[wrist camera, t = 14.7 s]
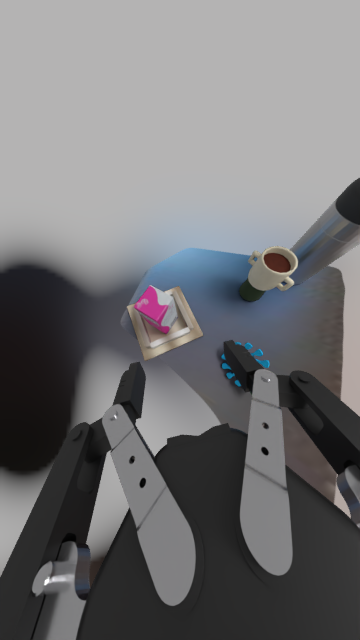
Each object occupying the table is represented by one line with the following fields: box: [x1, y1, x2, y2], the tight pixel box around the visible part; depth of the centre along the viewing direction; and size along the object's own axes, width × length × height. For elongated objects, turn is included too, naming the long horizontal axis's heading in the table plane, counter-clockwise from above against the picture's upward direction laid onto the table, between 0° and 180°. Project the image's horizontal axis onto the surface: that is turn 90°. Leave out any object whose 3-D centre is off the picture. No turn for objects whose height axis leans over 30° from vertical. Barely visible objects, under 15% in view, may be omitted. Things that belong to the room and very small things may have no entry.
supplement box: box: [134, 285, 178, 334], centre depth 30 cm, size 6×6×12 cm
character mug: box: [239, 246, 298, 301], centre depth 32 cm, size 11×7×13 cm, turn 37°
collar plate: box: [127, 286, 203, 361], centre depth 35 cm, size 16×16×4 cm
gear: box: [221, 342, 269, 393], centre depth 30 cm, size 11×6×10 cm
